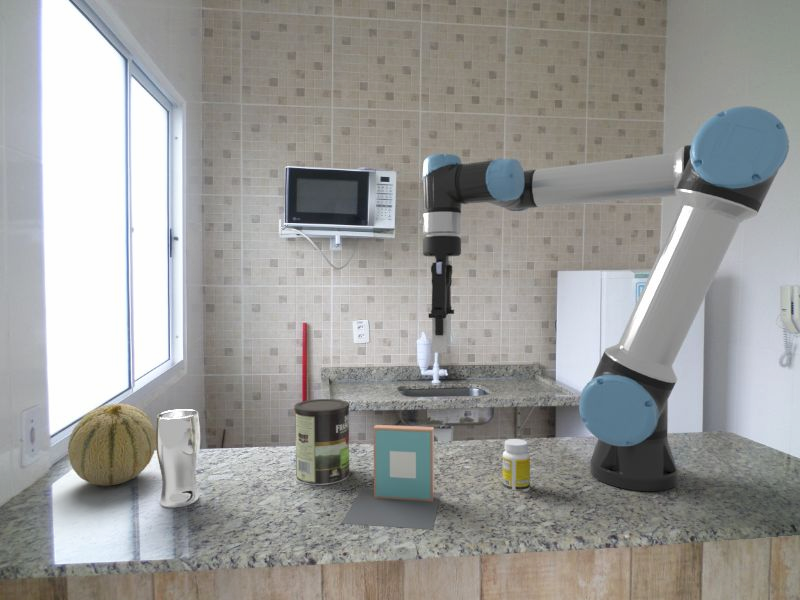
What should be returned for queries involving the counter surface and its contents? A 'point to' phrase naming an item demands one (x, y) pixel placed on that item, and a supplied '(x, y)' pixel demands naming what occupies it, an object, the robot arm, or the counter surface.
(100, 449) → the cantaloupe
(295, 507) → the counter surface
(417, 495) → the tile
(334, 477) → the coffee can
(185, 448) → the beer glass
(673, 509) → the counter surface
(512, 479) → the supplement bottle
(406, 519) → the mat
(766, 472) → the counter surface
